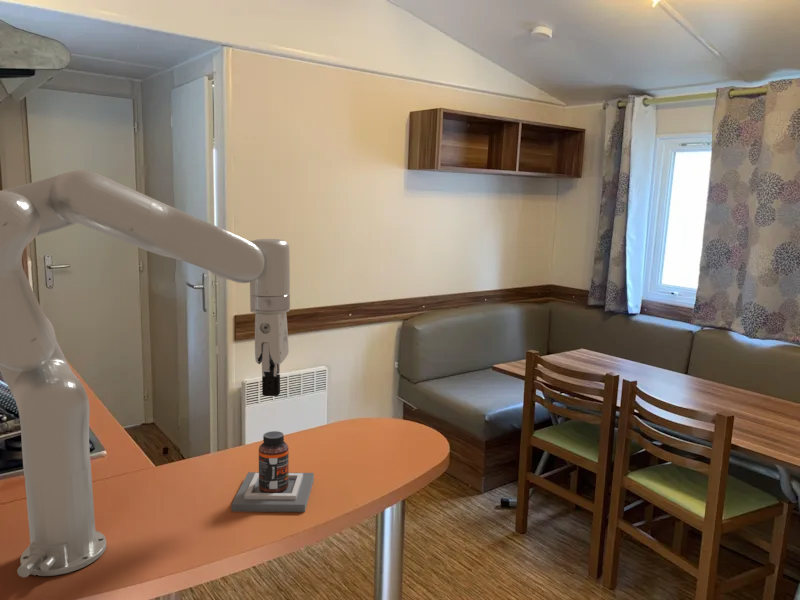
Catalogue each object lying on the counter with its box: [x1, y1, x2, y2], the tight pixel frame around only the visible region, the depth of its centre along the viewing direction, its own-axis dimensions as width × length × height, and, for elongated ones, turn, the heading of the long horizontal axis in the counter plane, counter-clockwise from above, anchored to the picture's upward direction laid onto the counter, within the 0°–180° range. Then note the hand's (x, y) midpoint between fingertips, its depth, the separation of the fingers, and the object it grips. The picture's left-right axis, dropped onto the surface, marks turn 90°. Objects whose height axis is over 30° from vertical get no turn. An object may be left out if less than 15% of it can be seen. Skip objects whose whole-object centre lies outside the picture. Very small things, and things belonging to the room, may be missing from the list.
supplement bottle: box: [258, 430, 290, 493], centre depth 124 cm, size 6×6×11 cm
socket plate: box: [231, 471, 315, 513], centre depth 125 cm, size 14×14×2 cm
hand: (271, 394), depth 122 cm, fingers closed
